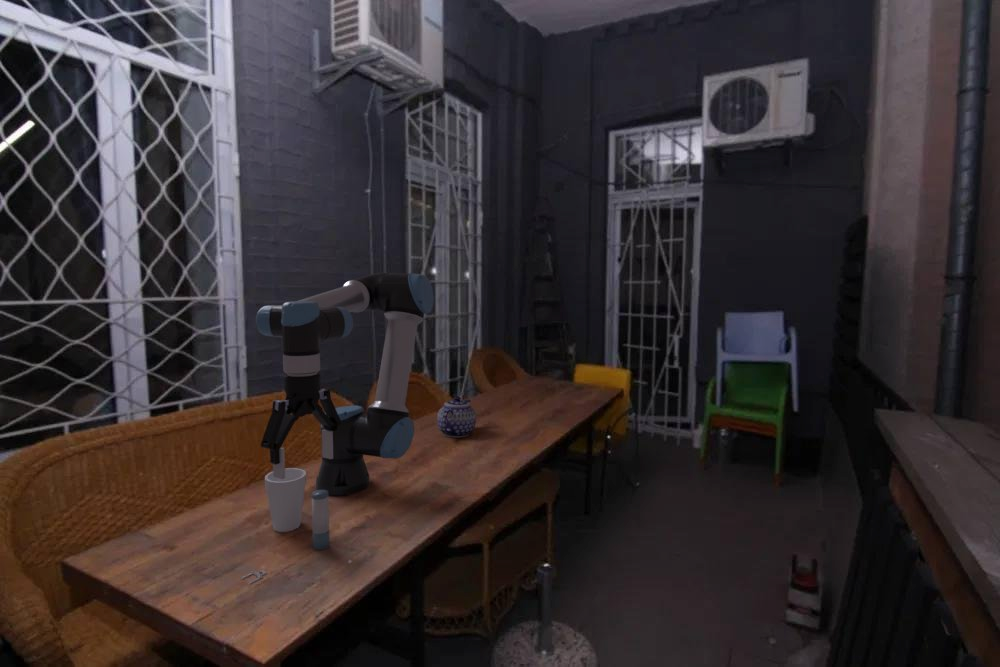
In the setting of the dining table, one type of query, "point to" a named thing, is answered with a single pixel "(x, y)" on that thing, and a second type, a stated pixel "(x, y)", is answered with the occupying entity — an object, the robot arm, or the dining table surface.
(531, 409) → the dining table surface
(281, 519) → the foam cup
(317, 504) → the cylinder
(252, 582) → the small grey pieces
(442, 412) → the blue ceramic jar
